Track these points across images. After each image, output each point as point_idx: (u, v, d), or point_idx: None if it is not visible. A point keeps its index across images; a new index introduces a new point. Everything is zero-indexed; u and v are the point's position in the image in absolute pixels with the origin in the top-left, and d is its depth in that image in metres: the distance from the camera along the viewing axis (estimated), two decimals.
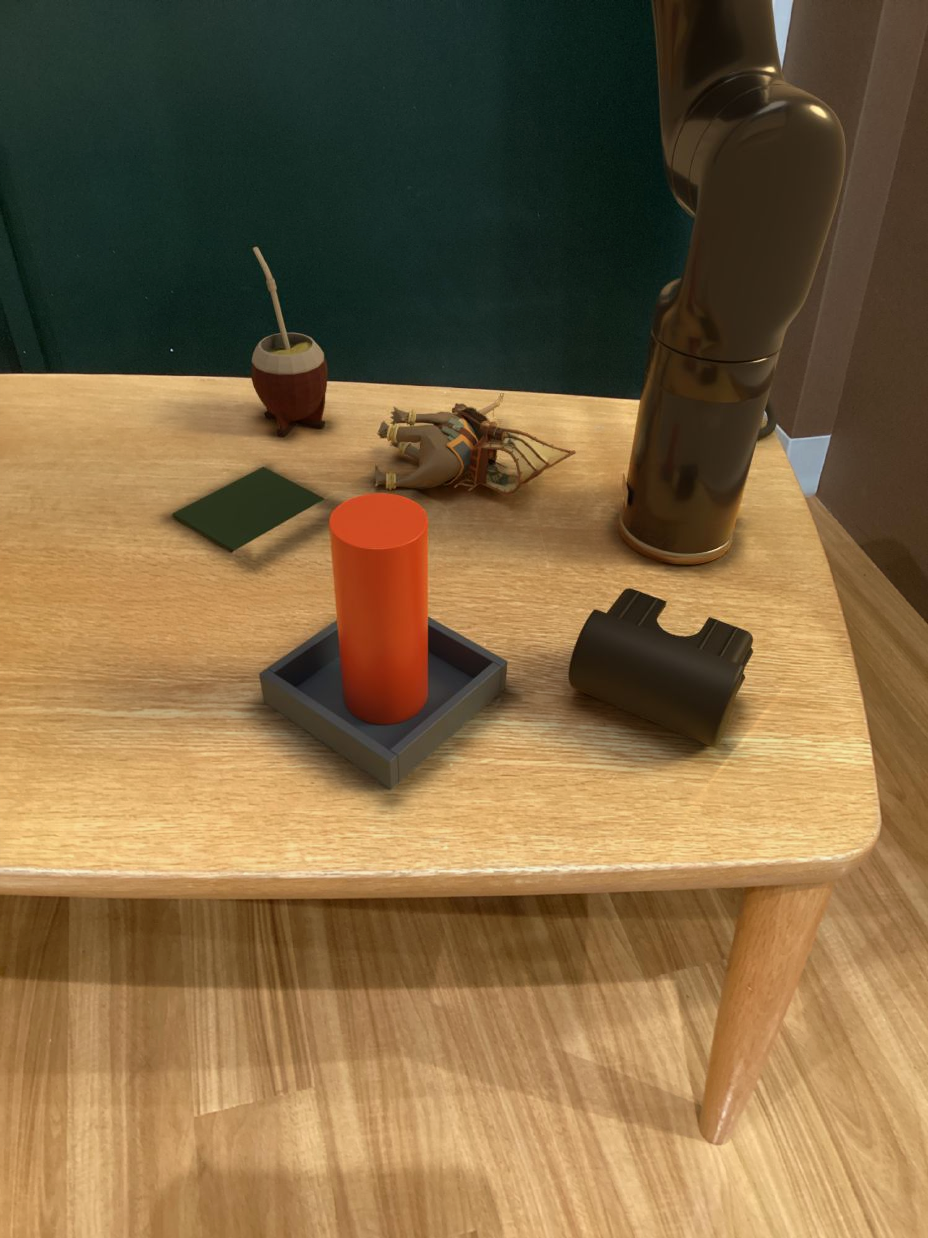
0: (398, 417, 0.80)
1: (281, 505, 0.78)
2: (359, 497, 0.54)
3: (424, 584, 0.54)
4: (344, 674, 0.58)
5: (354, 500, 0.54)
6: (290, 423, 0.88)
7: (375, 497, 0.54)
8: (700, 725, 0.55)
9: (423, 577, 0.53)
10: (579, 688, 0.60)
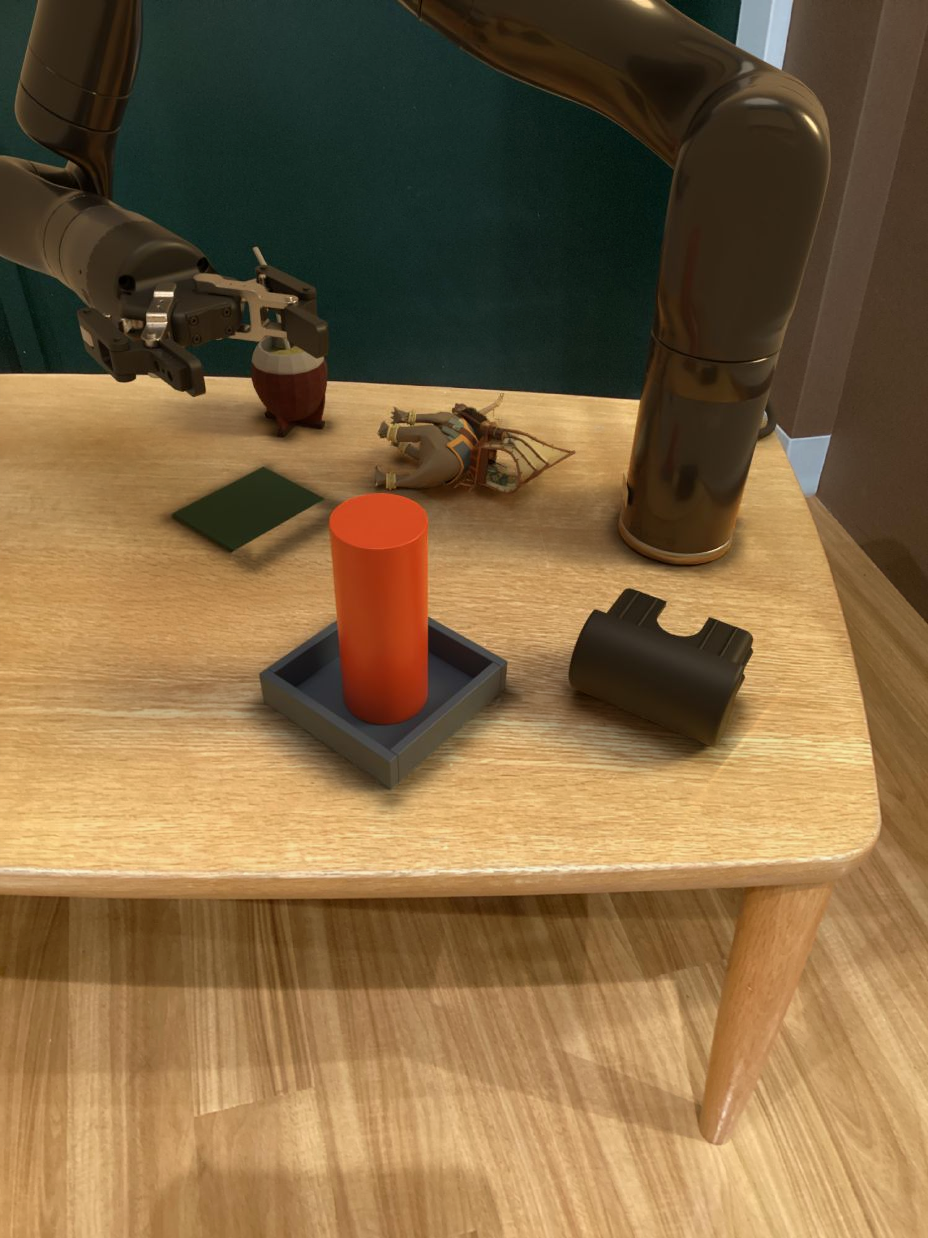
0: (398, 417, 0.80)
1: (281, 505, 0.78)
2: (359, 497, 0.54)
3: (424, 584, 0.54)
4: (344, 674, 0.58)
5: (354, 500, 0.54)
6: (290, 423, 0.88)
7: (375, 497, 0.54)
8: (700, 725, 0.55)
9: (423, 577, 0.53)
10: (579, 688, 0.60)
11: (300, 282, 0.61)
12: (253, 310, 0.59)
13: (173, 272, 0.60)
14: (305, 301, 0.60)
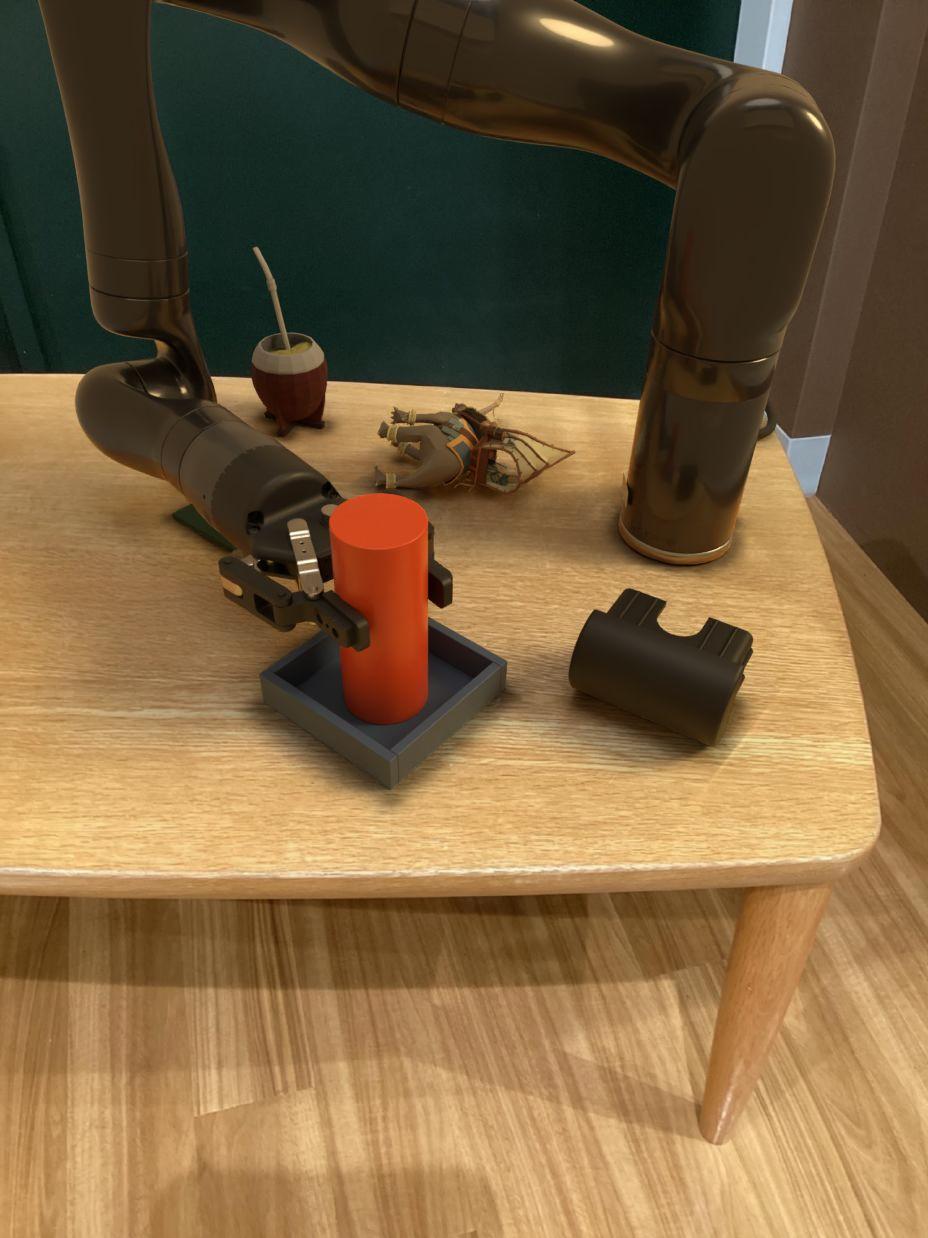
0: (398, 417, 0.80)
1: None
2: (359, 497, 0.54)
3: (424, 584, 0.54)
4: (344, 674, 0.58)
5: (354, 500, 0.54)
6: (290, 423, 0.88)
7: (375, 497, 0.54)
8: (700, 725, 0.55)
9: (423, 577, 0.53)
10: (579, 688, 0.60)
11: None
12: None
13: (299, 501, 0.60)
14: None
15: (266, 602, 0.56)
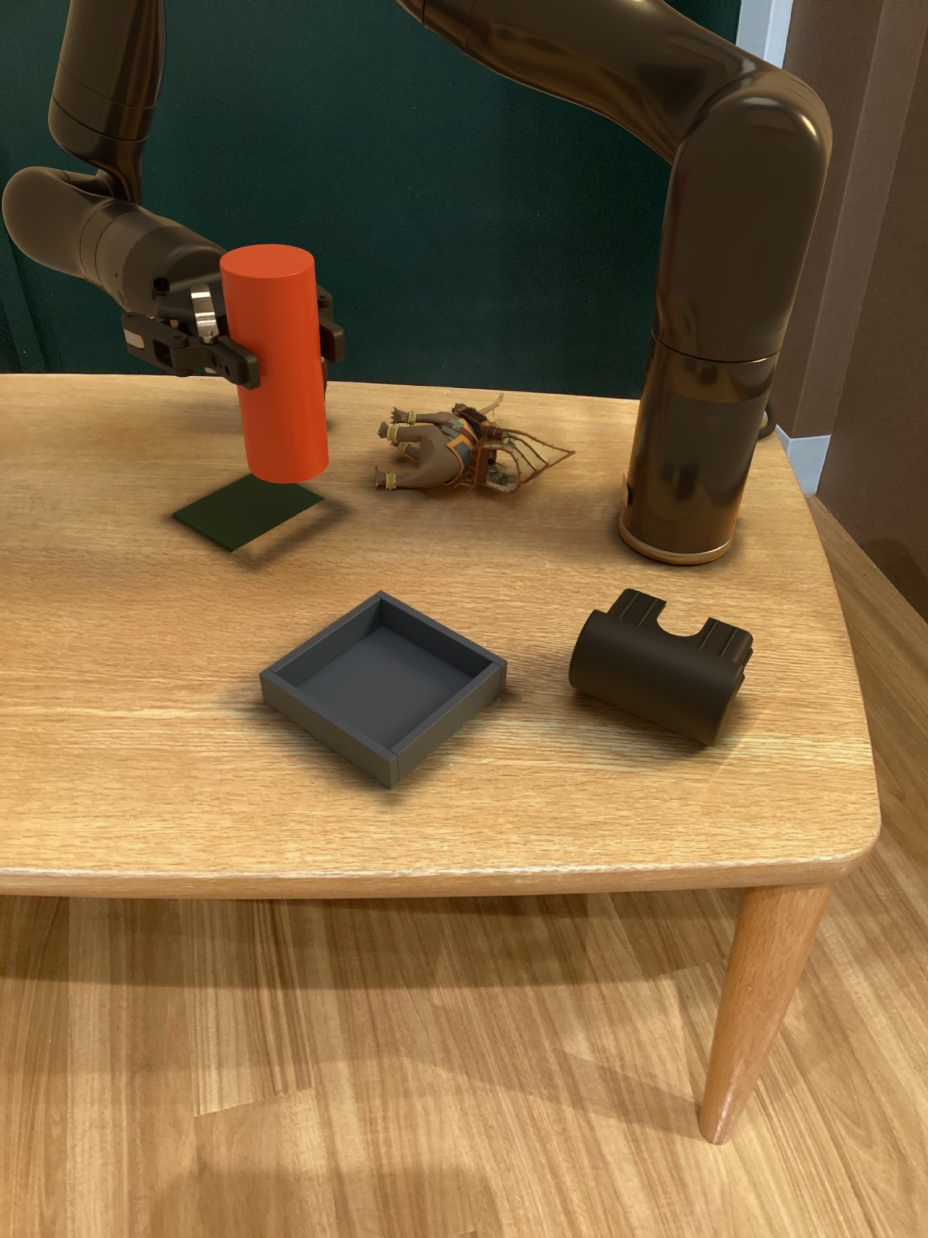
0: (398, 417, 0.80)
1: (281, 505, 0.78)
2: (252, 246, 0.57)
3: (313, 329, 0.57)
4: (244, 431, 0.61)
5: (246, 247, 0.57)
6: None
7: (267, 246, 0.57)
8: (700, 725, 0.55)
9: (311, 319, 0.57)
10: (579, 688, 0.60)
11: (321, 289, 0.63)
12: None
13: (205, 275, 0.63)
14: (321, 308, 0.62)
15: (167, 353, 0.59)
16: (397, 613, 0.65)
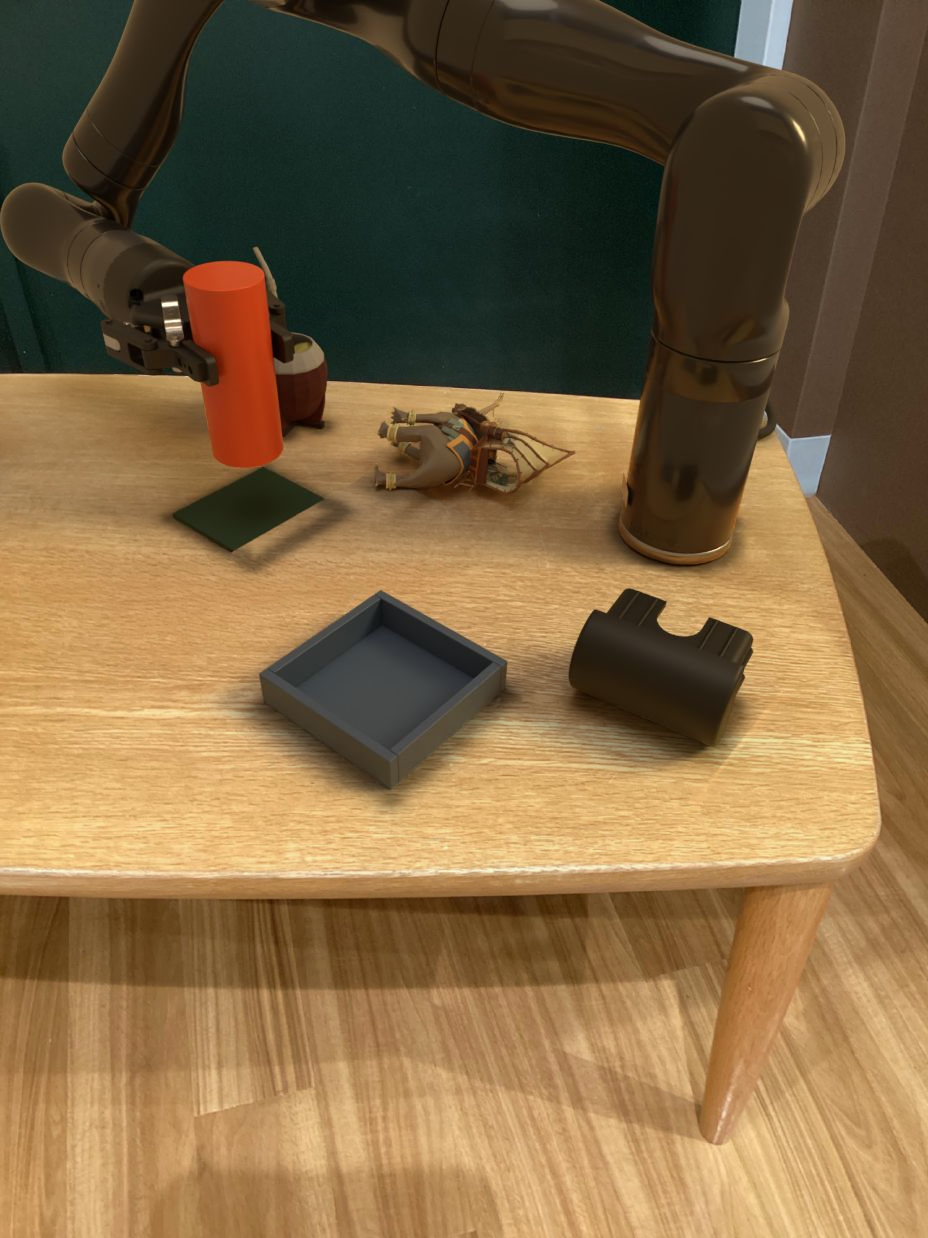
0: (398, 417, 0.80)
1: (281, 505, 0.78)
2: (212, 262, 0.66)
3: (265, 334, 0.67)
4: (208, 422, 0.71)
5: (207, 264, 0.66)
6: (290, 423, 0.88)
7: (225, 263, 0.66)
8: (700, 725, 0.55)
9: (262, 326, 0.66)
10: (579, 688, 0.60)
11: (275, 299, 0.73)
12: None
13: (175, 286, 0.73)
14: (275, 315, 0.71)
15: (140, 355, 0.68)
16: (397, 613, 0.65)
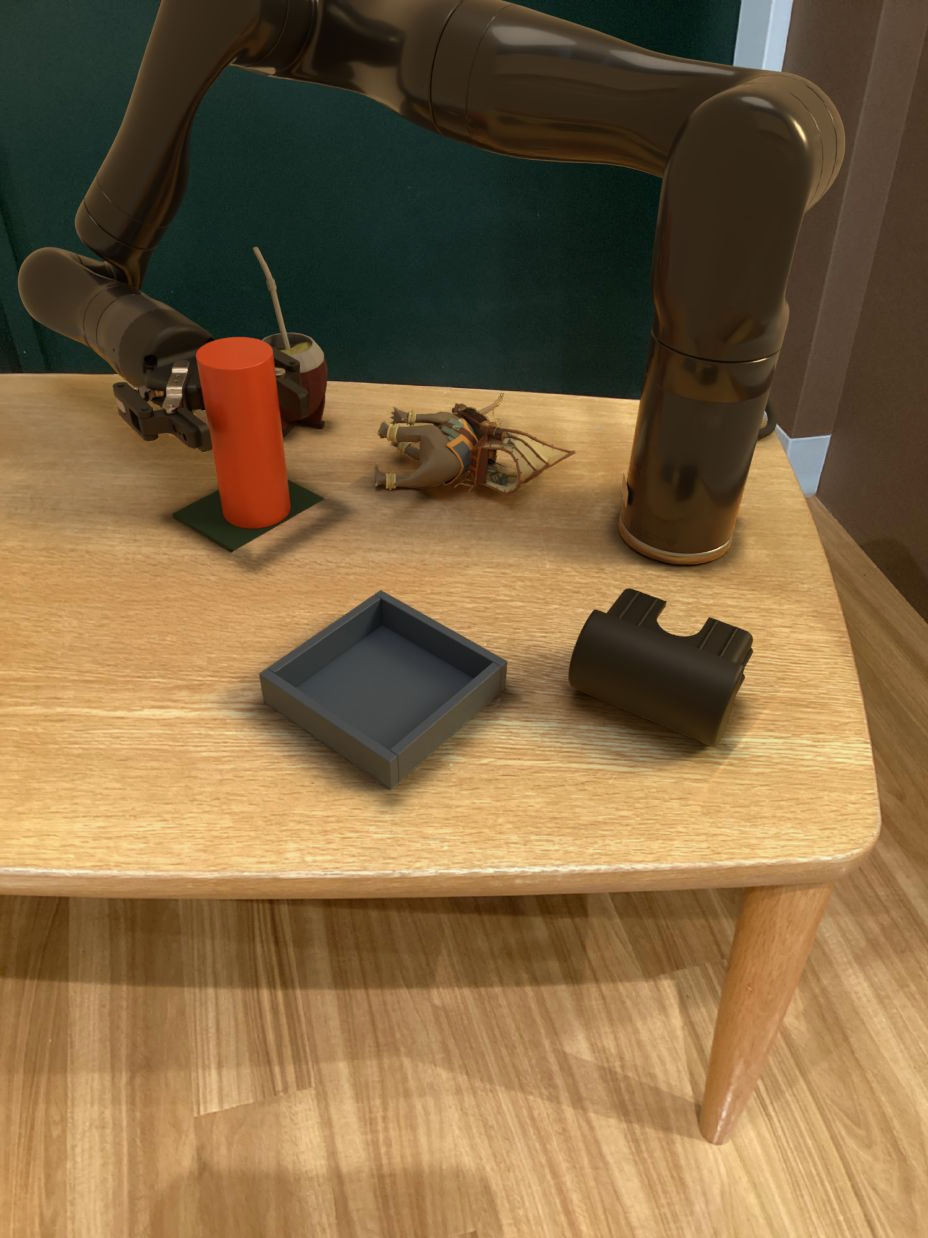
0: (398, 417, 0.80)
1: None
2: (223, 339, 0.70)
3: (273, 406, 0.70)
4: (219, 486, 0.74)
5: (219, 340, 0.70)
6: (290, 423, 0.88)
7: (235, 339, 0.70)
8: (700, 725, 0.55)
9: (271, 399, 0.70)
10: (579, 688, 0.60)
11: (287, 356, 0.77)
12: None
13: (187, 350, 0.76)
14: (291, 372, 0.76)
15: None
16: (397, 613, 0.65)
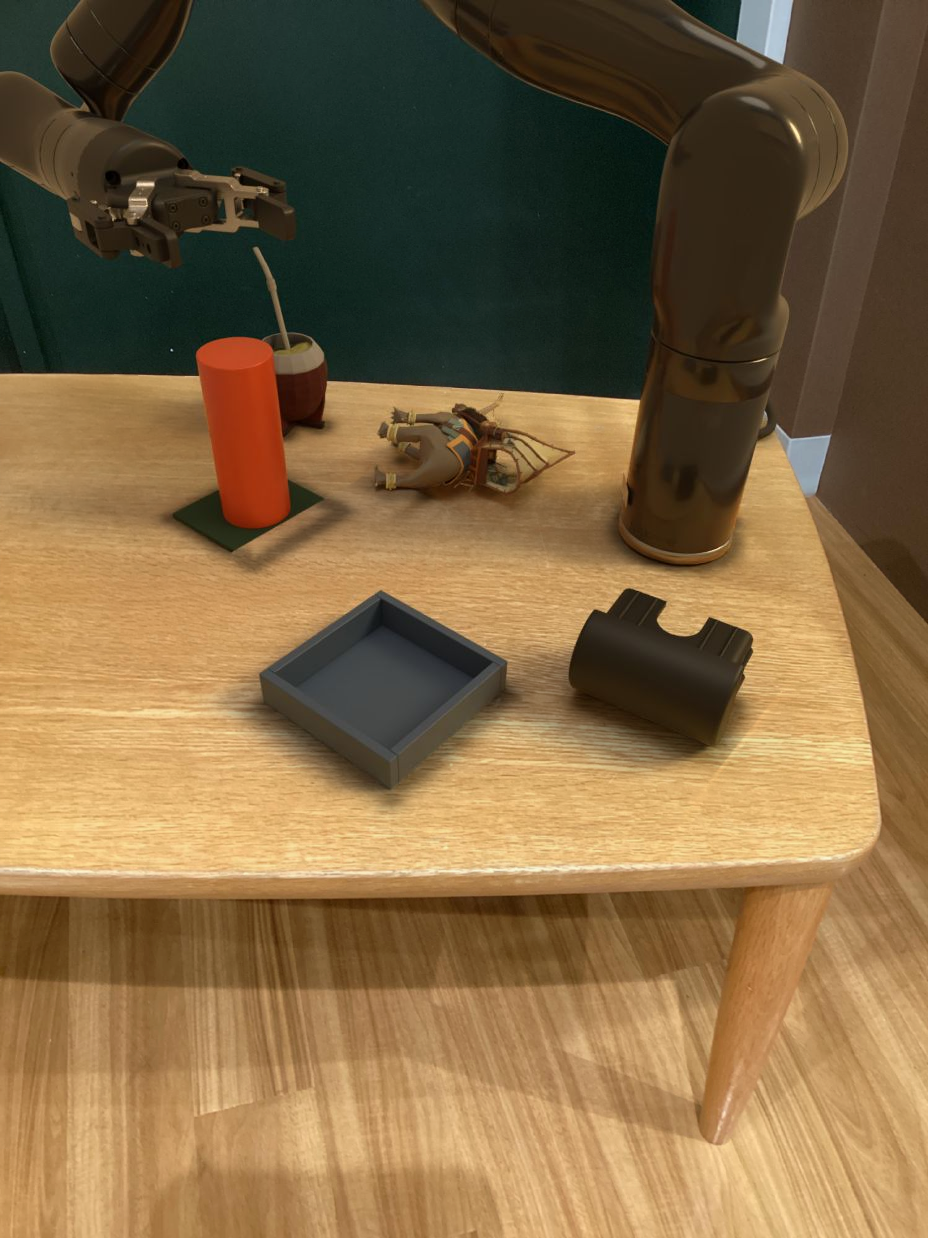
0: (398, 417, 0.80)
1: None
2: (223, 339, 0.70)
3: (273, 406, 0.70)
4: (219, 486, 0.74)
5: (219, 340, 0.70)
6: (290, 423, 0.88)
7: (235, 339, 0.70)
8: (700, 725, 0.55)
9: (271, 399, 0.70)
10: (579, 688, 0.60)
11: (271, 178, 0.67)
12: (227, 201, 0.65)
13: (155, 170, 0.66)
14: (275, 193, 0.65)
15: None
16: (397, 613, 0.65)
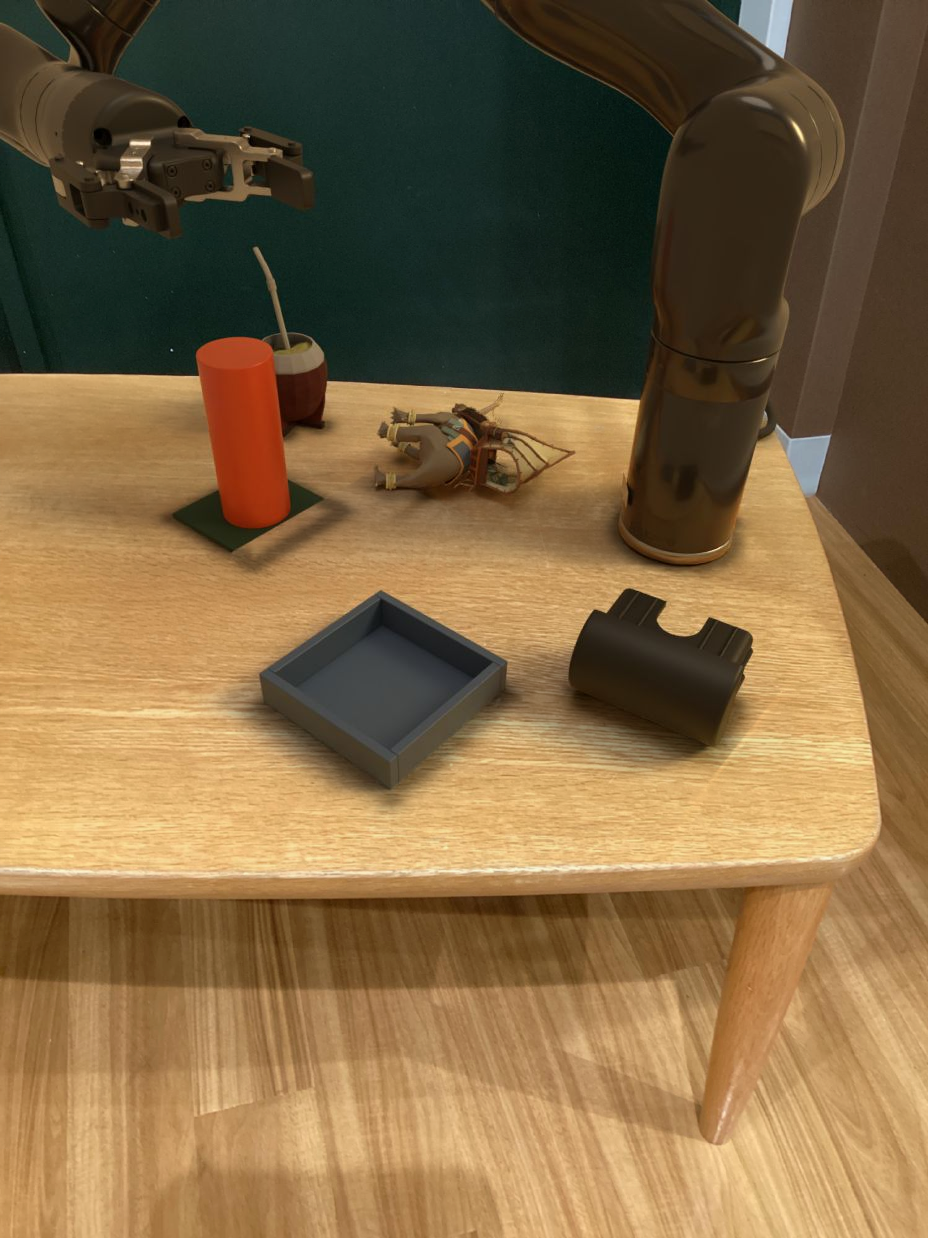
0: (398, 417, 0.80)
1: None
2: (223, 339, 0.70)
3: (273, 406, 0.70)
4: (219, 486, 0.74)
5: (219, 340, 0.70)
6: (290, 423, 0.88)
7: (235, 339, 0.70)
8: (700, 725, 0.55)
9: (271, 399, 0.70)
10: (579, 688, 0.60)
11: (285, 139, 0.58)
12: (235, 165, 0.56)
13: (152, 130, 0.57)
14: (290, 156, 0.57)
15: None
16: (397, 613, 0.65)
